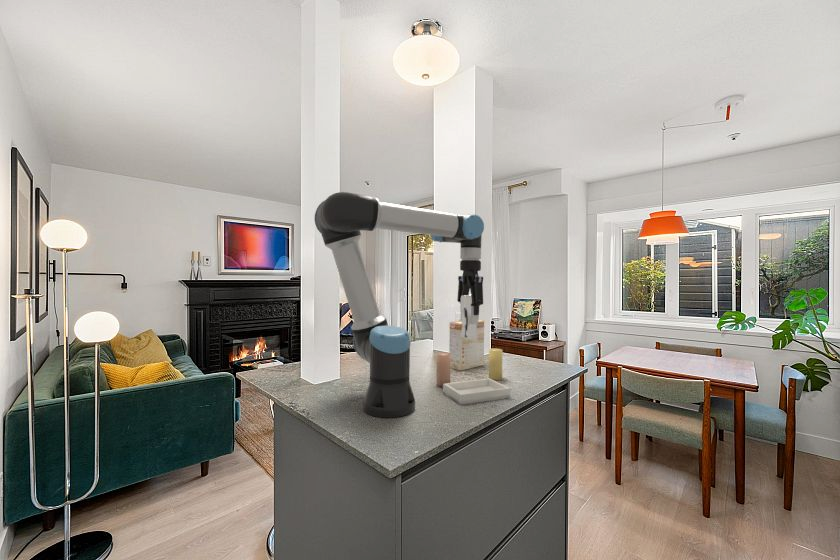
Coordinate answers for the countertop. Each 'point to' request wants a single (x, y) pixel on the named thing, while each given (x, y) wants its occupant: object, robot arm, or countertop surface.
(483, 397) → the tray
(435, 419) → the countertop surface
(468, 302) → the beer glass
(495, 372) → the mustard canister
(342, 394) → the countertop surface
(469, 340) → the coffeecake box
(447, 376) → the terracotta canister
